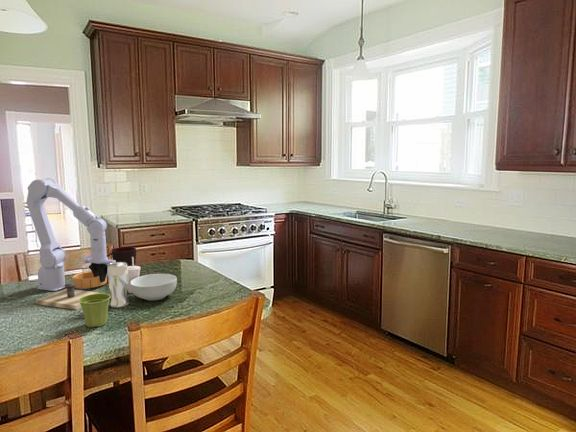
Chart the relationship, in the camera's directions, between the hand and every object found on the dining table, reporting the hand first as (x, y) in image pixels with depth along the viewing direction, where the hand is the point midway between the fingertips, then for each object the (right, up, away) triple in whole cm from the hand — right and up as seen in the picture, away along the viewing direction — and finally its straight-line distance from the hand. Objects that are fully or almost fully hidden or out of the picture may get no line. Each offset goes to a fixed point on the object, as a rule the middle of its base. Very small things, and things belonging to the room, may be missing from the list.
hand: (100, 281), depth 175 cm
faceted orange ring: (-5, -1, +2) cm, 6 cm away
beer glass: (+16, -6, -20) cm, 26 cm away
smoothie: (+15, -3, -6) cm, 17 cm away
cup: (+2, 0, +15) cm, 15 cm away
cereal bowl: (+26, -4, -12) cm, 29 cm away
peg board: (-4, -5, -16) cm, 17 cm away
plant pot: (+15, -8, -38) cm, 42 cm away
